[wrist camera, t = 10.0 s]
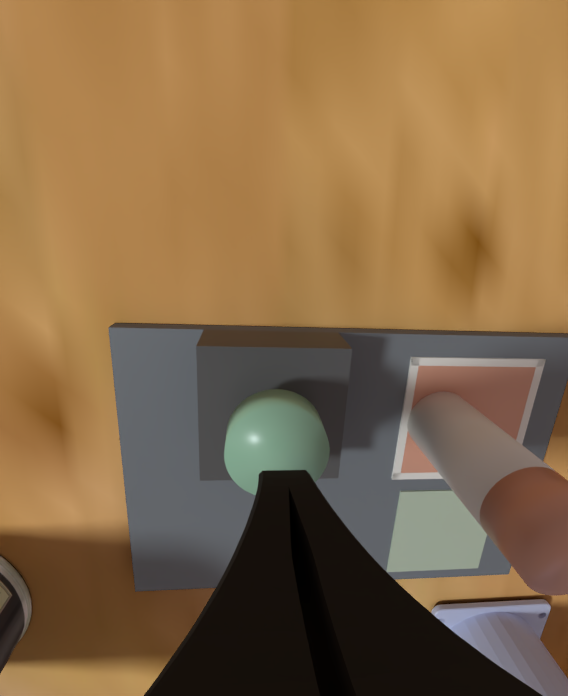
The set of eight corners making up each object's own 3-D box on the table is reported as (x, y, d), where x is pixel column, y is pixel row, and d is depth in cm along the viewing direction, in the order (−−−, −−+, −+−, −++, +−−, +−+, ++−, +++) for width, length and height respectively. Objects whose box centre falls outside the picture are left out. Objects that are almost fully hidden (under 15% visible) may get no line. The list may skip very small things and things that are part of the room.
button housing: (327, 447, 18) (338, 478, 16) (206, 448, 18) (199, 480, 16) (338, 332, 17) (352, 348, 14) (203, 329, 16) (196, 345, 14)
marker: (461, 448, 19) (604, 592, 11) (402, 448, 19) (509, 597, 11) (475, 391, 18) (640, 508, 10) (413, 390, 18) (537, 511, 10)
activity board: (500, 563, 23) (509, 575, 22) (139, 578, 21) (134, 593, 20) (566, 333, 18) (582, 338, 18) (115, 322, 16) (107, 328, 15)
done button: (318, 472, 14) (325, 497, 13) (226, 474, 14) (224, 499, 13) (325, 389, 13) (333, 407, 12) (226, 388, 13) (223, 406, 12)
